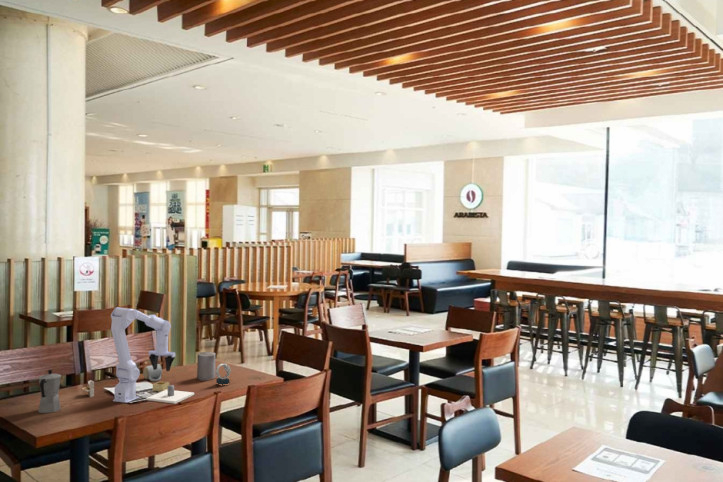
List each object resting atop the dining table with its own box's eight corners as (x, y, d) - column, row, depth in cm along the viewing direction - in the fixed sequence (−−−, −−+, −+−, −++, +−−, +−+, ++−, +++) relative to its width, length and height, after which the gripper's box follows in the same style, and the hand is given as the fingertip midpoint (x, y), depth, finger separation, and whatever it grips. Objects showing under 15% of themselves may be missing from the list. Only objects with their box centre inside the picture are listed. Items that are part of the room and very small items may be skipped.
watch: (232, 384, 309) (232, 363, 309) (219, 386, 303) (219, 365, 303) (226, 382, 313) (226, 361, 313) (213, 384, 307) (213, 364, 307)
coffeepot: (45, 405, 265) (45, 366, 265) (66, 405, 266) (67, 366, 266) (29, 416, 250) (29, 374, 249) (52, 416, 250) (52, 374, 250)
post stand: (175, 403, 272) (175, 391, 272) (146, 400, 277) (146, 388, 277) (194, 394, 288) (194, 383, 288) (166, 391, 292) (166, 380, 292)
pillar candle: (196, 376, 323) (197, 349, 323) (214, 375, 326) (215, 349, 326) (197, 381, 314) (197, 353, 313) (215, 380, 317) (216, 352, 316)
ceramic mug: (142, 378, 317) (142, 364, 316) (157, 376, 322) (157, 362, 322) (149, 383, 308) (149, 368, 308) (164, 380, 314) (164, 366, 313)
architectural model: (86, 398, 279) (86, 383, 279) (81, 395, 284) (82, 380, 284) (94, 397, 281) (94, 381, 281) (89, 394, 287) (89, 379, 286)
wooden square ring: (162, 392, 291) (162, 385, 291) (152, 391, 292) (152, 384, 292) (169, 389, 296) (169, 382, 296) (159, 388, 298) (159, 381, 298)
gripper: (179, 343, 298) (178, 369, 298) (154, 341, 302) (154, 367, 302) (170, 345, 291) (170, 372, 291) (146, 343, 295) (145, 370, 295)
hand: (161, 370), depth 296 cm, fingers open, 7 cm apart
